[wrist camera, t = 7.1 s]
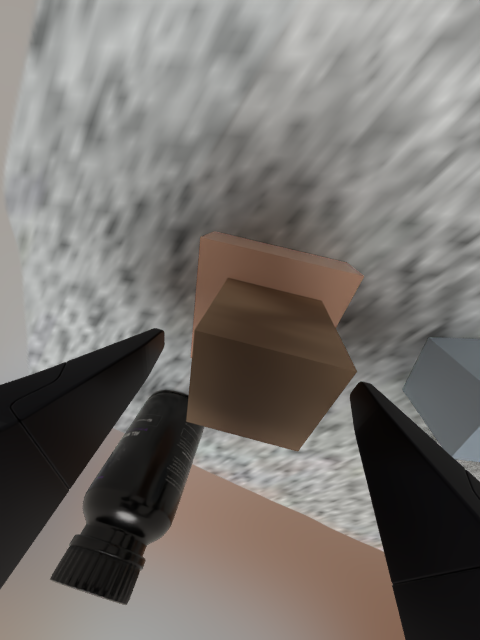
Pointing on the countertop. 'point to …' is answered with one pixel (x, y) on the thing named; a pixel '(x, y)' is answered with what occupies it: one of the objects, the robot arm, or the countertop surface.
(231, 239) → the base block
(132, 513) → the supplement bottle
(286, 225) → the countertop surface
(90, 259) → the countertop surface
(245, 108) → the countertop surface
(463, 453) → the slate-blue cube
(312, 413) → the walnut cube
